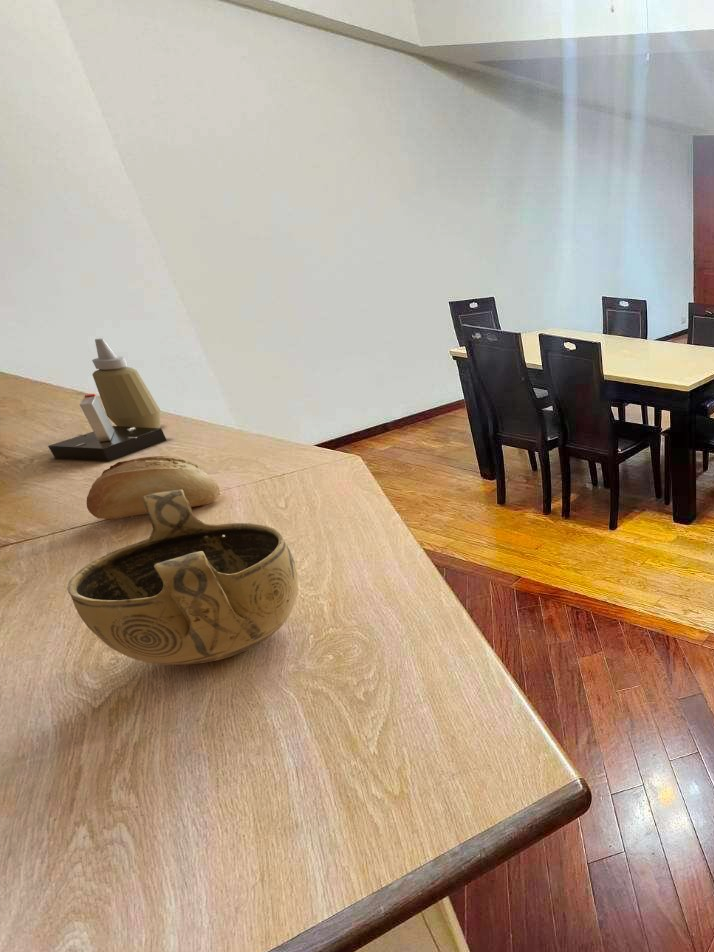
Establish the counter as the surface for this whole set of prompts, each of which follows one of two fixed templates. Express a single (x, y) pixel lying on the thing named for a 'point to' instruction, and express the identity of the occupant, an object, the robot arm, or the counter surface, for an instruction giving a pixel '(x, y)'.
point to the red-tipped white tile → (97, 417)
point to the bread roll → (147, 485)
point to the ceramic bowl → (188, 588)
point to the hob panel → (107, 444)
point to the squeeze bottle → (123, 391)
